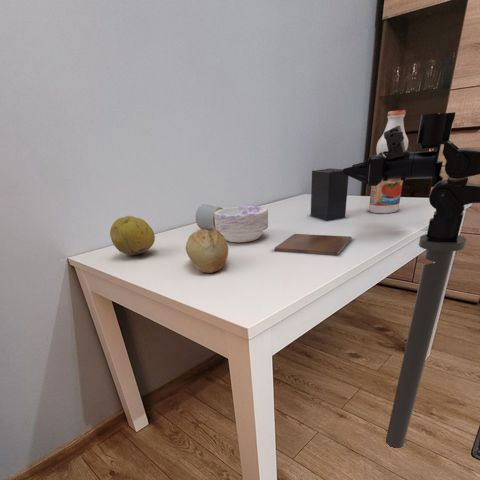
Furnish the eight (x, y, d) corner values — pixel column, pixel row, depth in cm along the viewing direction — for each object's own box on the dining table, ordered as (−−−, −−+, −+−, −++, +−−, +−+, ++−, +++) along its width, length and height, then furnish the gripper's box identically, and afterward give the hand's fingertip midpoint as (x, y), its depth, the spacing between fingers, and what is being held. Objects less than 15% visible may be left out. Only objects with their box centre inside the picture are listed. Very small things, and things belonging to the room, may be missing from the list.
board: (351, 239, 90) (351, 236, 89) (337, 255, 80) (337, 252, 79) (294, 236, 97) (294, 233, 96) (274, 250, 87) (274, 247, 86)
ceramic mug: (215, 233, 107) (213, 207, 103) (196, 231, 111) (193, 206, 107) (236, 226, 114) (234, 201, 110) (217, 224, 118) (215, 201, 114)
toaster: (345, 217, 112) (349, 169, 104) (327, 220, 110) (329, 171, 102) (325, 212, 121) (327, 167, 113) (308, 215, 119) (309, 169, 111)
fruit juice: (381, 207, 121) (394, 111, 106) (404, 210, 114) (421, 108, 99) (362, 211, 117) (373, 113, 102) (384, 215, 110) (399, 109, 95)
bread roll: (220, 253, 88) (217, 221, 84) (236, 270, 76) (233, 234, 72) (184, 259, 86) (178, 227, 82) (194, 278, 74) (188, 241, 70)
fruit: (119, 264, 87) (108, 223, 82) (113, 253, 97) (103, 216, 91) (161, 255, 91) (153, 216, 86) (152, 246, 100) (144, 210, 95)
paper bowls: (269, 230, 105) (268, 203, 100) (268, 244, 92) (267, 213, 88) (220, 233, 107) (218, 206, 102) (212, 247, 94) (209, 217, 90)
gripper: (423, 125, 85) (358, 131, 92) (414, 126, 71) (340, 134, 78) (415, 175, 90) (355, 177, 98) (405, 185, 77) (337, 187, 84)
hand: (347, 169), depth 89 cm, fingers open, 9 cm apart
